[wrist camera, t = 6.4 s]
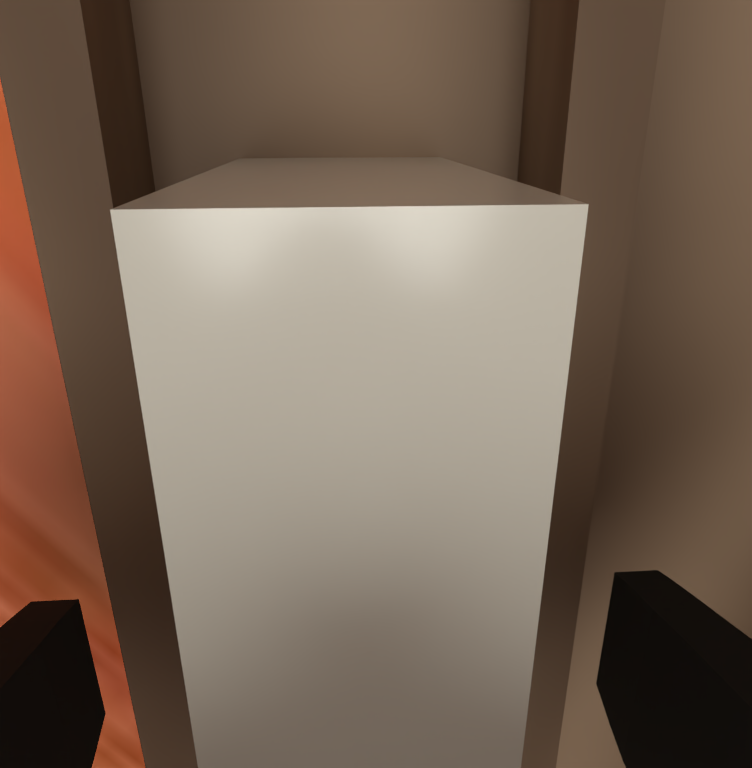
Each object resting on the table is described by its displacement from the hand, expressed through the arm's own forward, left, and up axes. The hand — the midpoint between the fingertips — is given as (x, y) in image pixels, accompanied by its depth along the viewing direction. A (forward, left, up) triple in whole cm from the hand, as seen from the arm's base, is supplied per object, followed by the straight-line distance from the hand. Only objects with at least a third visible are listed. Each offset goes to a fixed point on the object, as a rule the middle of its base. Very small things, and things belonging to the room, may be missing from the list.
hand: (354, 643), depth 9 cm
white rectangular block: (0, 0, -3) cm, 3 cm away
